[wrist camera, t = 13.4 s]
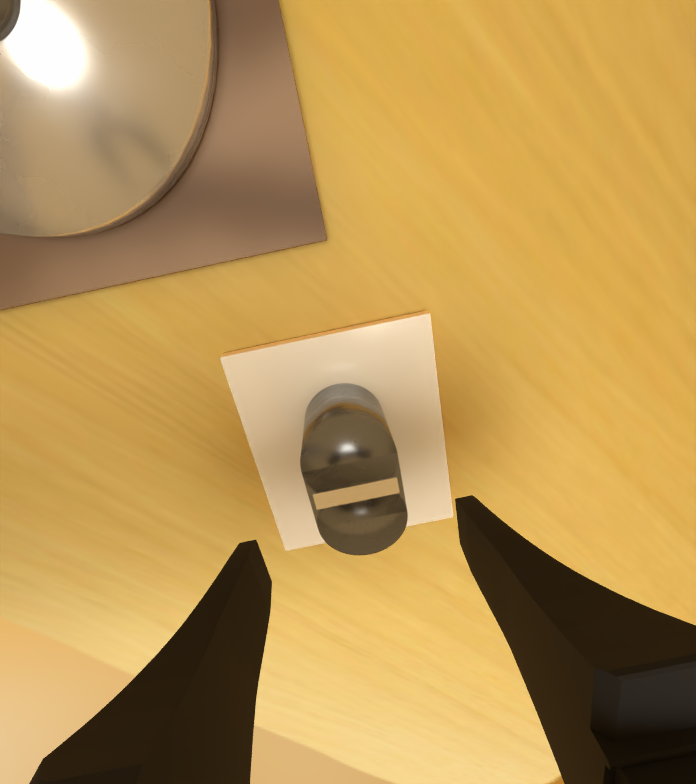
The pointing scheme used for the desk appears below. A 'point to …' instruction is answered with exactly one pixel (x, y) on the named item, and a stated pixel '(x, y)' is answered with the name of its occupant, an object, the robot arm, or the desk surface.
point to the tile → (335, 366)
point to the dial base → (201, 182)
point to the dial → (99, 108)
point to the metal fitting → (352, 471)
